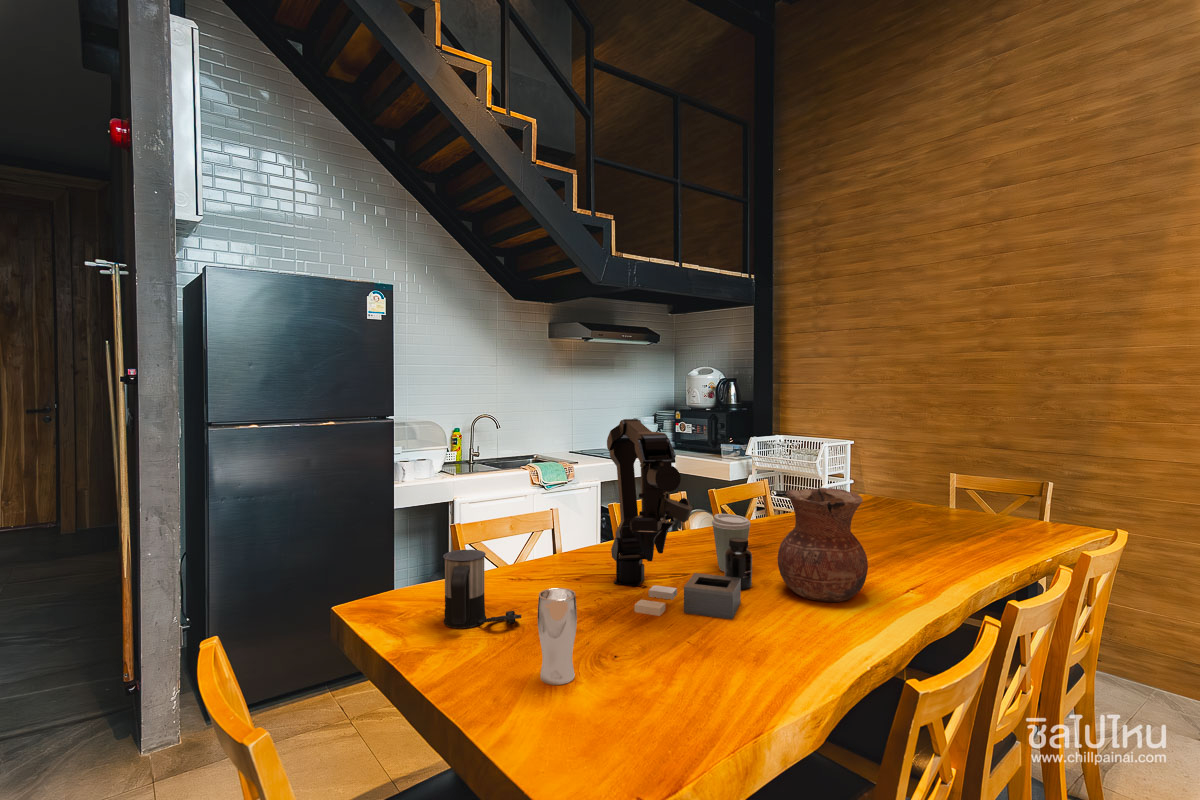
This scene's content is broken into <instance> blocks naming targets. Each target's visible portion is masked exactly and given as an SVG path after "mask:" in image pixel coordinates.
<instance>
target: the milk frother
mask: <svg viewBox="0 0 1200 800" xmlns="http://www.w3.org/2000/svg"><path fill="white" fill-rule="evenodd" d="M486 555H487V553H486V552H485V551H483V550H480V549H457V550H451V551H449V552H446V553H445V554H443V559H444V615H443V616H444V619H443V624H444V625H445V626H446V627H448V628H449V627H450V628H453V629H469V628H474V627H478V626H481V625H482V624H484V623H493V622H500V621H501V622H502V621H506V624H507V625H511V624H515V623H516V620H517V619H519V620H520V619H522V614H516V612H515V611H514V610H510V611H509V610H508V611H506V612H505V615H500V616H492V617H487V616H486V603H485V602H486V601H485V600H486V599H485V557H486Z"/></svg>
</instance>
